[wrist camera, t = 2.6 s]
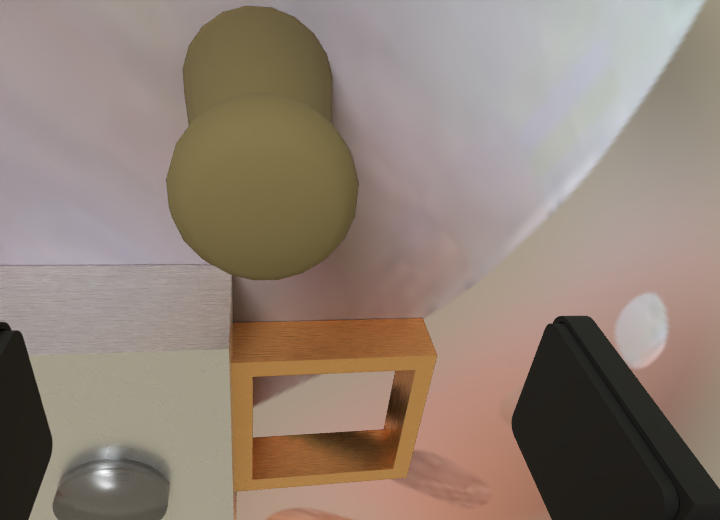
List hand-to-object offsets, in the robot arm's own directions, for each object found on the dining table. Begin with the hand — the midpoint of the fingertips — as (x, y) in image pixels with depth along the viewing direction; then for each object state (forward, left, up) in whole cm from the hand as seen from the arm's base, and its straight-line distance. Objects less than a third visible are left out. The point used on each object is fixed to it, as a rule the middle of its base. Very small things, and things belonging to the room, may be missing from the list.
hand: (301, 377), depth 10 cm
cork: (0, 0, -16) cm, 16 cm away
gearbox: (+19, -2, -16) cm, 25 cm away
